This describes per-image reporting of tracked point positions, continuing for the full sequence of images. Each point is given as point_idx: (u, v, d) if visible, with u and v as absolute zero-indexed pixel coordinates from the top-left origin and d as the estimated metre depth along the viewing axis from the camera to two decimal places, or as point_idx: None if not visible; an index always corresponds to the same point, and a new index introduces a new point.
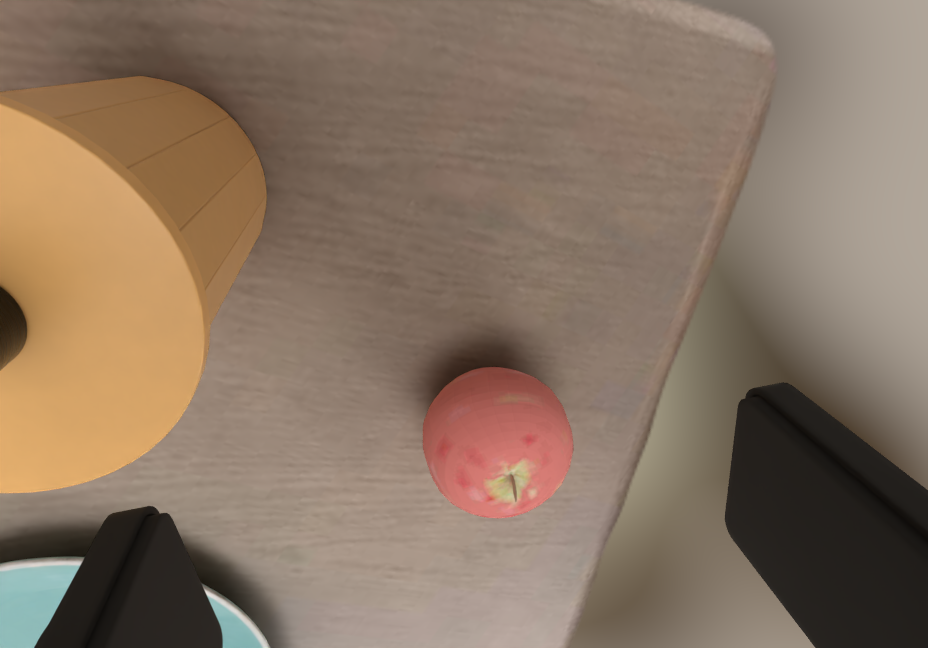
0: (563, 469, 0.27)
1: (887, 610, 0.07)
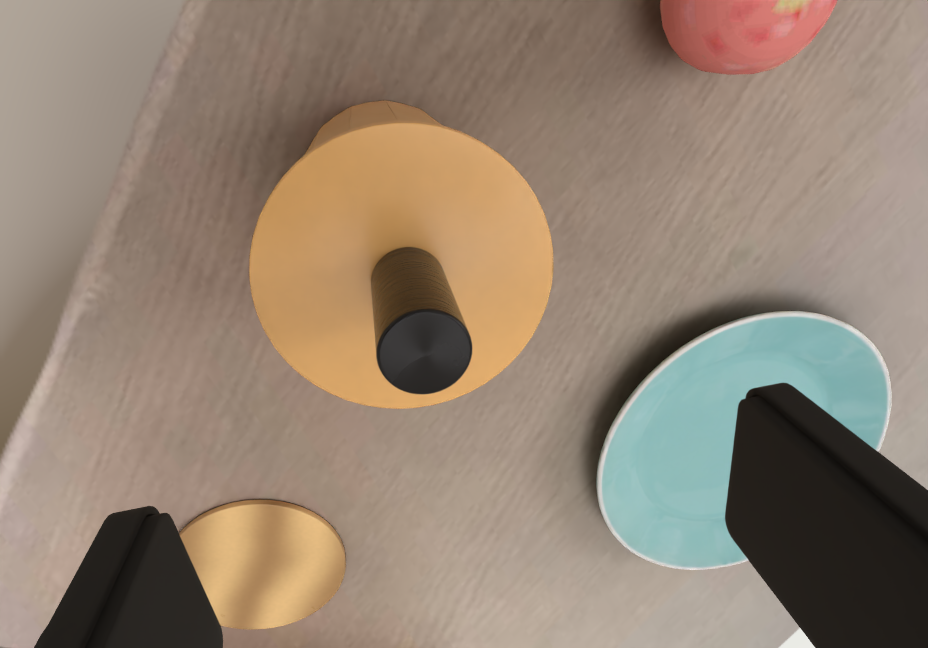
0: None
1: (887, 610, 0.07)
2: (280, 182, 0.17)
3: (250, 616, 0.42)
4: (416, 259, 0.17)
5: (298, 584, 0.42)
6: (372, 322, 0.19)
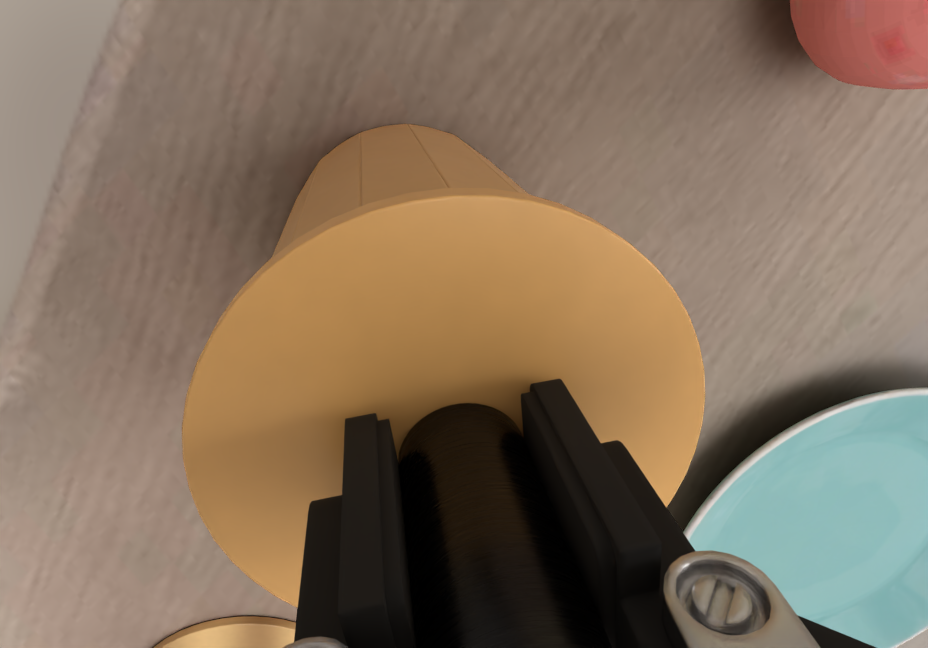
0: None
1: (584, 580, 0.08)
2: (233, 306, 0.09)
3: None
4: (485, 444, 0.09)
5: None
6: None
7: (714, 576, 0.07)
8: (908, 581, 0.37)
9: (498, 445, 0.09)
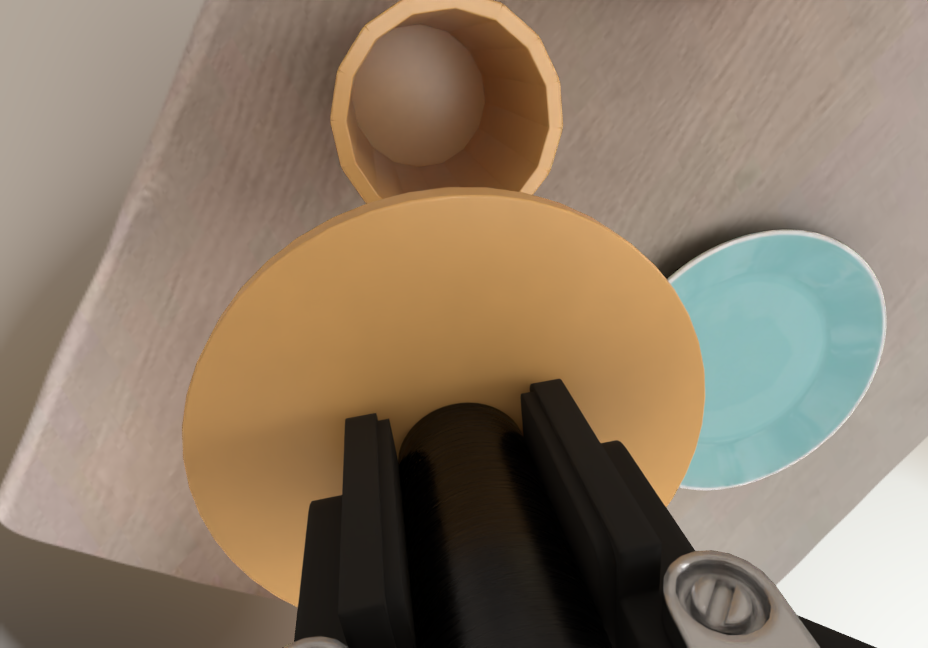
0: None
1: None
2: (234, 305, 0.09)
3: None
4: (486, 443, 0.09)
5: None
6: None
7: (713, 576, 0.07)
8: (803, 409, 0.47)
9: (498, 444, 0.09)
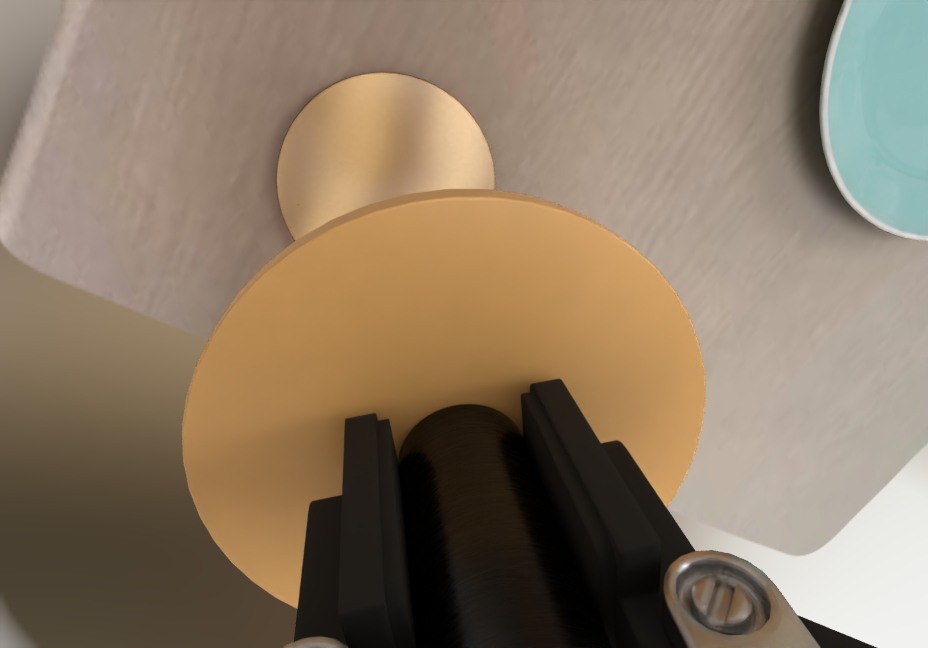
0: None
1: (584, 580, 0.08)
2: (234, 307, 0.09)
3: None
4: (486, 445, 0.09)
5: None
6: None
7: (714, 576, 0.07)
8: None
9: (498, 446, 0.09)
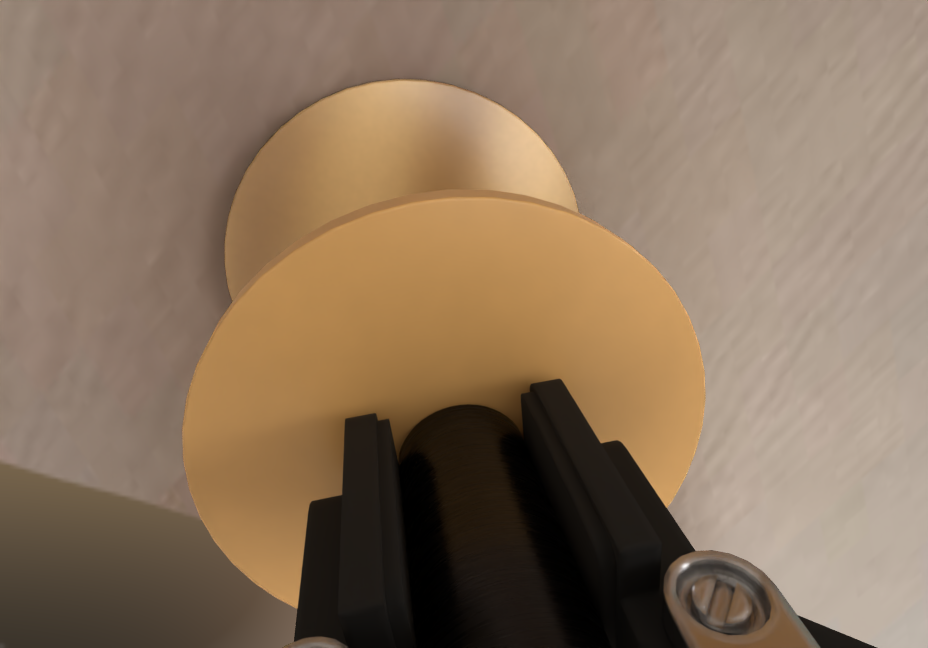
0: None
1: (584, 580, 0.08)
2: (234, 307, 0.09)
3: None
4: (486, 446, 0.09)
5: None
6: None
7: (714, 576, 0.07)
8: None
9: (498, 447, 0.09)
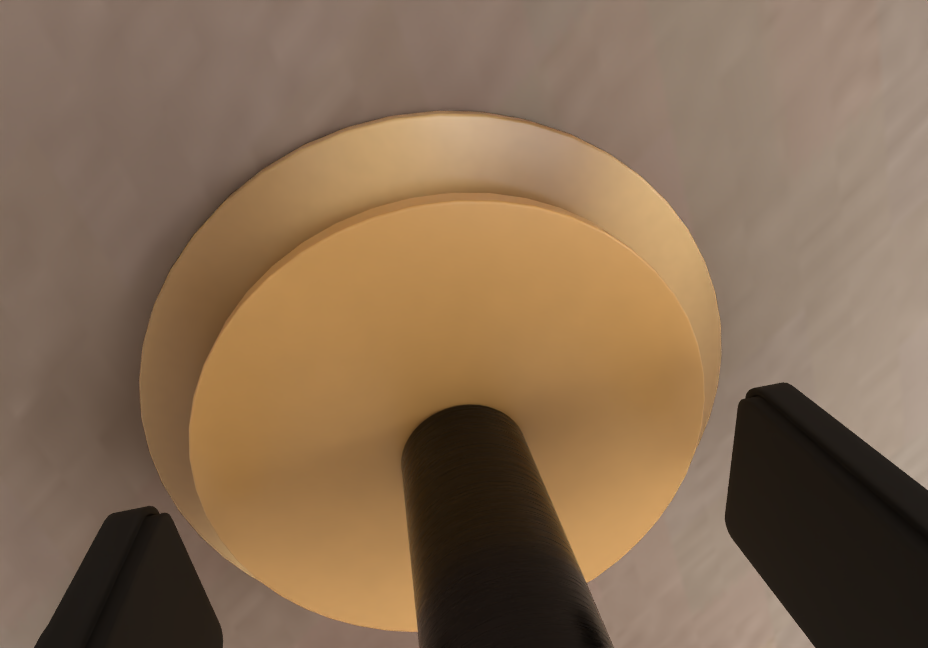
0: None
1: (887, 610, 0.07)
2: (240, 309, 0.09)
3: None
4: (488, 444, 0.09)
5: None
6: (402, 517, 0.11)
7: None
8: None
9: (500, 446, 0.09)
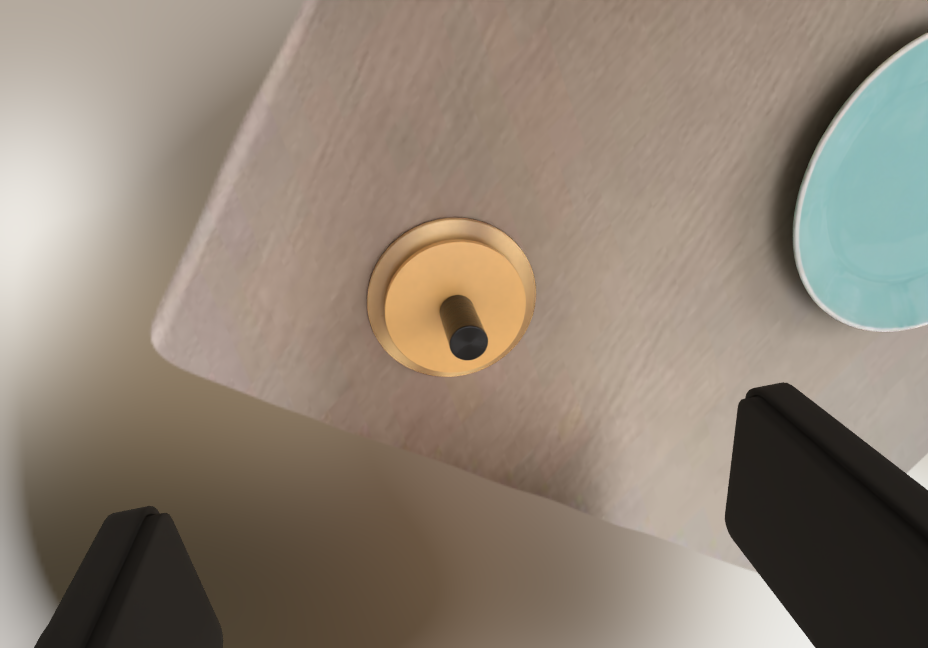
0: None
1: (887, 610, 0.07)
2: (402, 267, 0.38)
3: None
4: (462, 301, 0.38)
5: None
6: (439, 329, 0.40)
7: None
8: None
9: (465, 302, 0.38)
